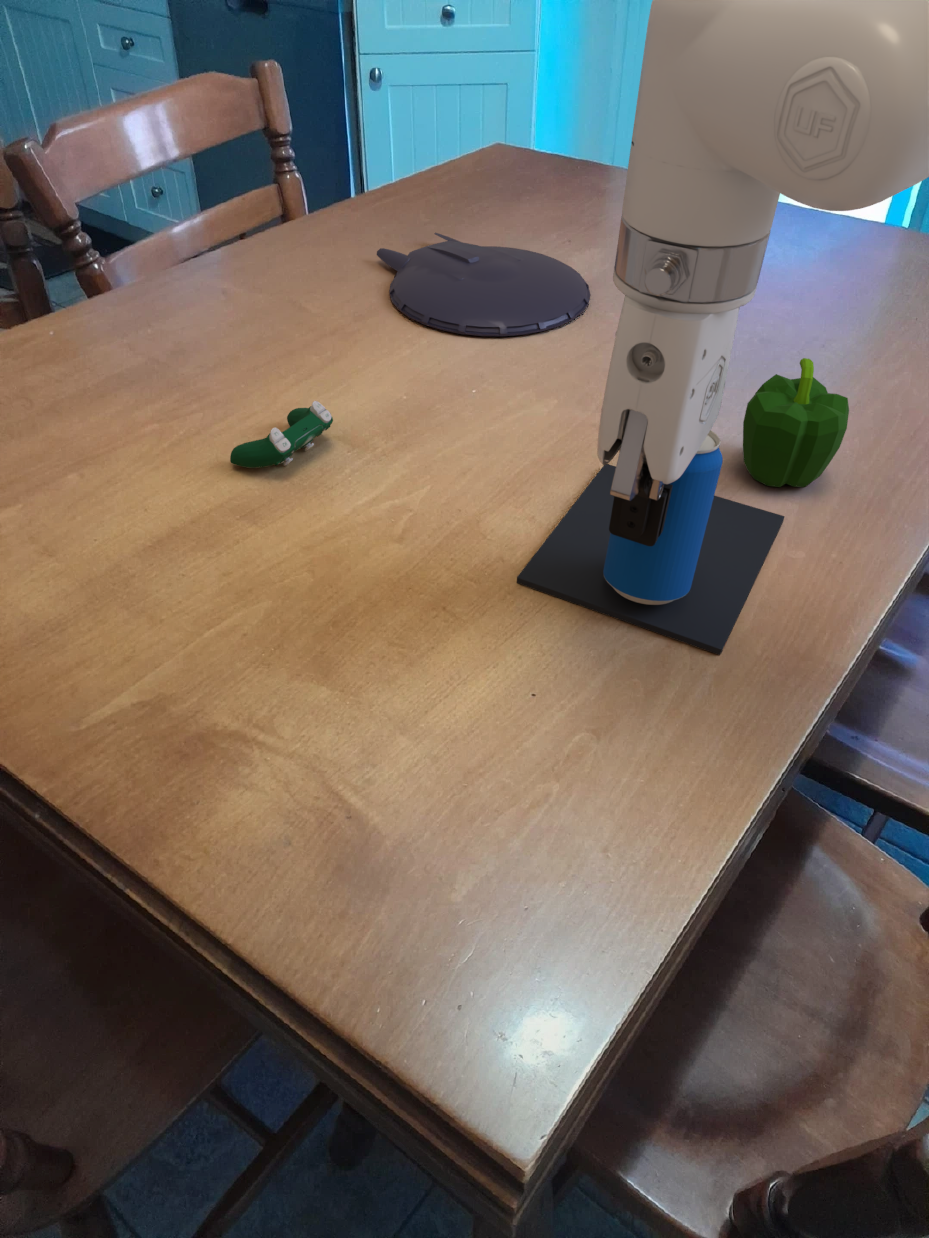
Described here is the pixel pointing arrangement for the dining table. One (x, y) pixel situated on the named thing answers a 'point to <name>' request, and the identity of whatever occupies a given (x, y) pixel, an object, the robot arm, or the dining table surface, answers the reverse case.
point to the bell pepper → (793, 429)
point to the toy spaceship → (485, 288)
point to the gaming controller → (284, 439)
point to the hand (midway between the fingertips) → (635, 533)
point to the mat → (695, 619)
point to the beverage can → (669, 537)
